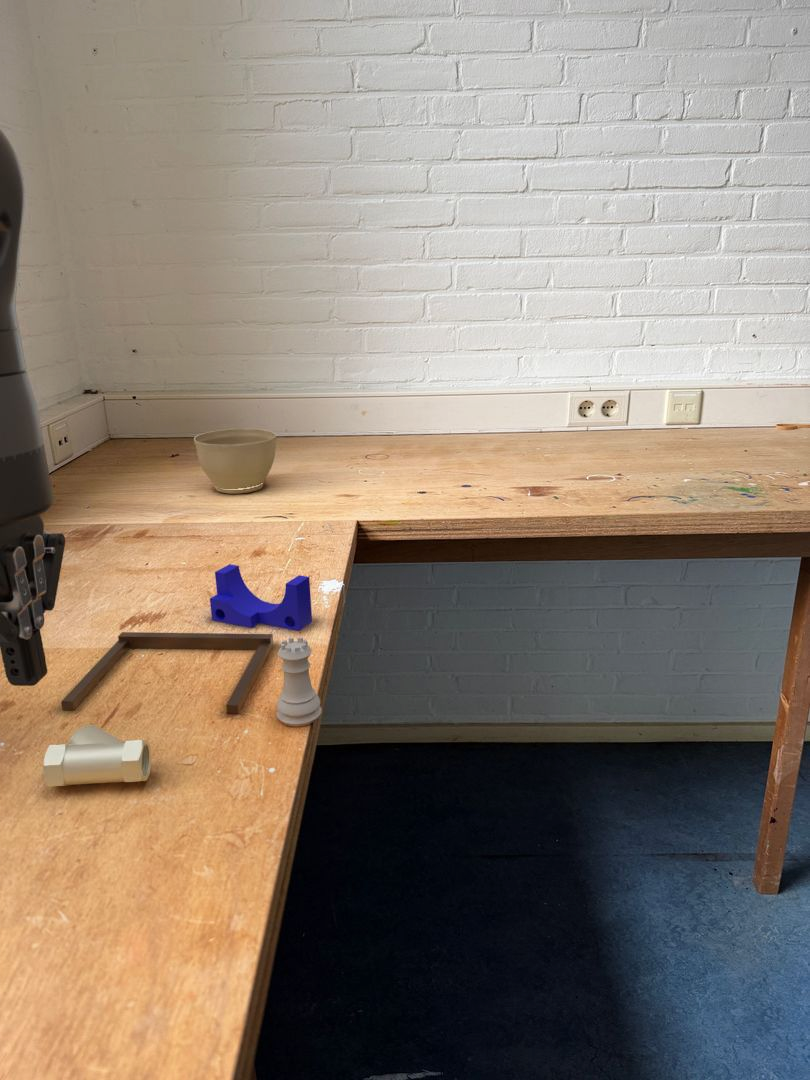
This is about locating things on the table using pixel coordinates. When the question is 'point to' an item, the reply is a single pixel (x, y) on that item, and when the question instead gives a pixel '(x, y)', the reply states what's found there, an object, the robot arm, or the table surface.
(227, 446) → the planter bowl
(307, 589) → the blue saddle bracket
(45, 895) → the table surface
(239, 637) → the frame
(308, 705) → the rook chess piece
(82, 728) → the pipe fitting
